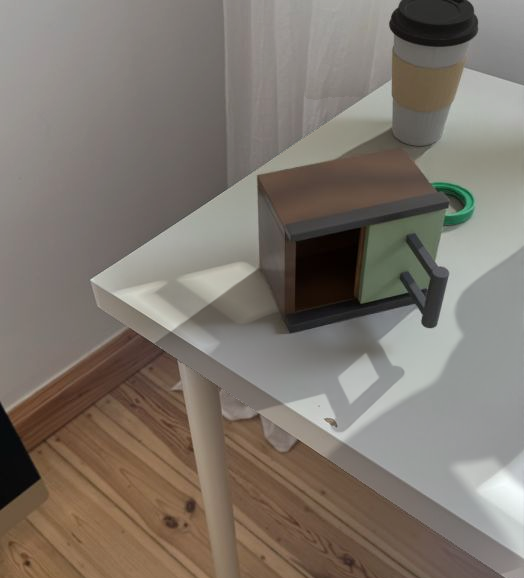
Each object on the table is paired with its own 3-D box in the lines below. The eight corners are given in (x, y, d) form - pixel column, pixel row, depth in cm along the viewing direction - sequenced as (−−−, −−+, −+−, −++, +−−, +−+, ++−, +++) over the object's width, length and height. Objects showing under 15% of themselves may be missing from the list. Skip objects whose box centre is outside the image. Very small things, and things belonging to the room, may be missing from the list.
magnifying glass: (470, 192, 80) (474, 179, 79) (476, 227, 76) (479, 214, 75) (332, 186, 82) (333, 173, 80) (330, 220, 78) (331, 207, 76)
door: (460, 333, 65) (482, 255, 58) (387, 352, 63) (400, 274, 57) (426, 282, 69) (442, 204, 62) (357, 299, 68) (366, 220, 61)
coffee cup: (464, 121, 90) (491, -4, 78) (443, 162, 84) (469, 34, 73) (391, 105, 92) (406, -18, 81) (366, 144, 87) (379, 18, 75)
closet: (429, 300, 69) (450, 200, 61) (289, 333, 67) (290, 235, 58) (388, 238, 75) (403, 140, 67) (259, 267, 73) (256, 168, 64)
